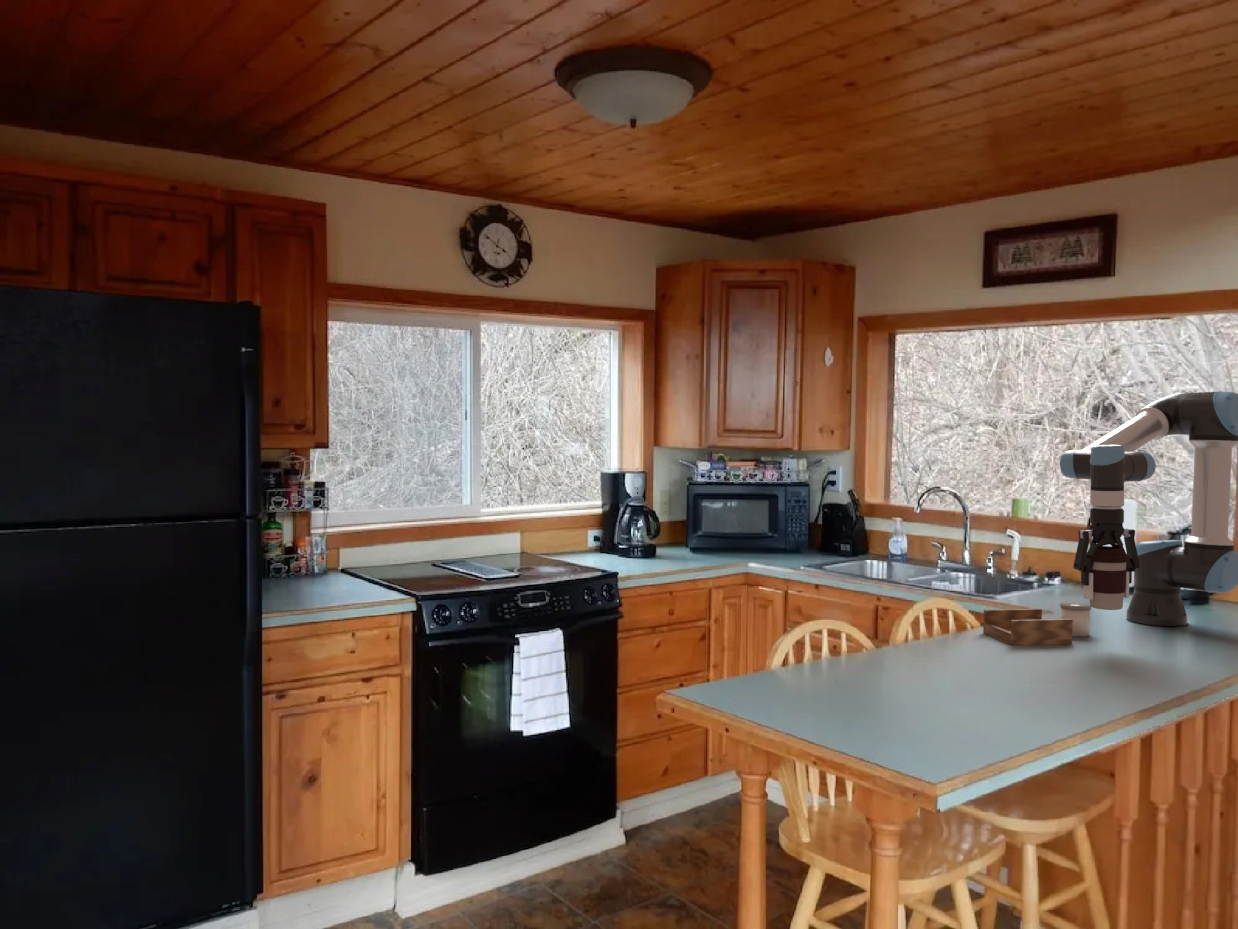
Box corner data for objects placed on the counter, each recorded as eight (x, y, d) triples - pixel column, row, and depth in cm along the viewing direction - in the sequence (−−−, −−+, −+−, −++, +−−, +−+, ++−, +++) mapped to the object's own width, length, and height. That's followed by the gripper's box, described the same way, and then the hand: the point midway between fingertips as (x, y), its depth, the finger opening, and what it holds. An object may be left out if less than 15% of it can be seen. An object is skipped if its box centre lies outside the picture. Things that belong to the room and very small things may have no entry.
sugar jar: (1079, 630, 263) (1080, 602, 263) (1096, 636, 256) (1097, 607, 255) (1053, 631, 262) (1054, 602, 262) (1069, 637, 255) (1070, 607, 254)
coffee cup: (1136, 611, 237) (1137, 550, 236) (1095, 612, 237) (1095, 550, 236) (1116, 603, 247) (1116, 544, 246) (1077, 604, 247) (1077, 545, 246)
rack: (1039, 631, 261) (1039, 608, 261) (1072, 643, 247) (1072, 619, 246) (983, 632, 259) (983, 609, 259) (1012, 645, 245) (1013, 620, 244)
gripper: (1137, 504, 245) (1136, 593, 247) (1057, 507, 243) (1057, 596, 244) (1157, 507, 238) (1156, 598, 239) (1075, 510, 235) (1074, 602, 237)
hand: (1106, 597), depth 242 cm, fingers closed on coffee cup, 9 cm apart
